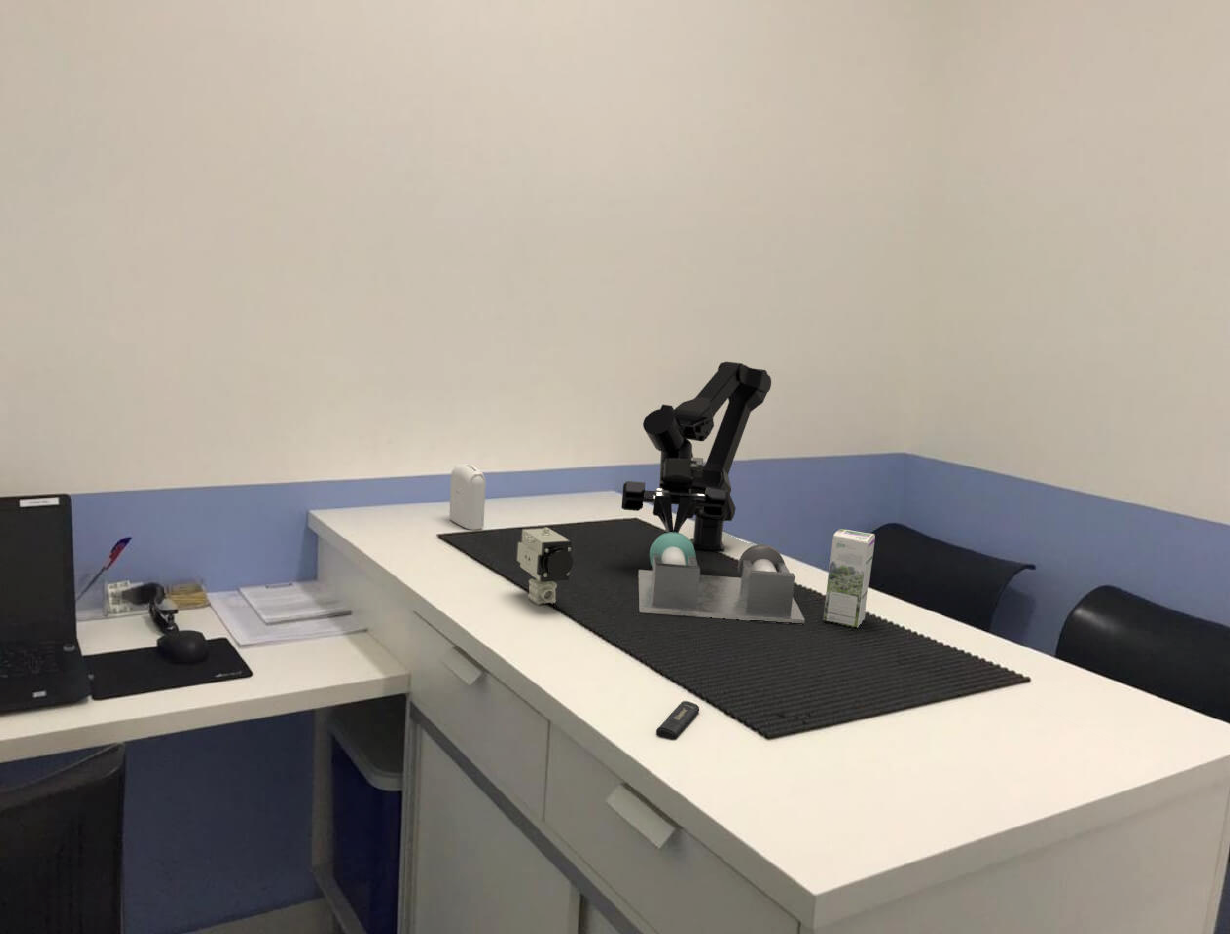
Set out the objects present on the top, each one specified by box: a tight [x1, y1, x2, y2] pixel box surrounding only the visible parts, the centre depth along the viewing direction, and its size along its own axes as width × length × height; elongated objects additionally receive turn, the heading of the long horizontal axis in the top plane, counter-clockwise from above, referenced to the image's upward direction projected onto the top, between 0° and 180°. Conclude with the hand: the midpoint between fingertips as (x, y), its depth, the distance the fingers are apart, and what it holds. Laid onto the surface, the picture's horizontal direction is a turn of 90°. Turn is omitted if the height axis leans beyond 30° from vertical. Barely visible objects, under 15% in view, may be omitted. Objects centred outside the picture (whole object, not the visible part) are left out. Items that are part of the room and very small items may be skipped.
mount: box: [637, 553, 806, 624], centre depth 173 cm, size 22×26×7 cm
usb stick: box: [655, 700, 700, 740], centre depth 122 cm, size 10×3×2 cm, turn 157°
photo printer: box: [449, 463, 487, 531], centre depth 209 cm, size 10×4×12 cm, turn 32°
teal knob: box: [649, 532, 697, 568], centre depth 174 cm, size 11×8×8 cm
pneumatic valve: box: [515, 527, 574, 606], centre depth 163 cm, size 6×12×12 cm, turn 29°
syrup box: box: [823, 528, 876, 629], centre depth 165 cm, size 6×6×14 cm
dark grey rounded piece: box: [737, 543, 786, 578], centre depth 170 cm, size 11×8×8 cm
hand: (672, 539), depth 180 cm, fingers closed, pressing on teal knob
